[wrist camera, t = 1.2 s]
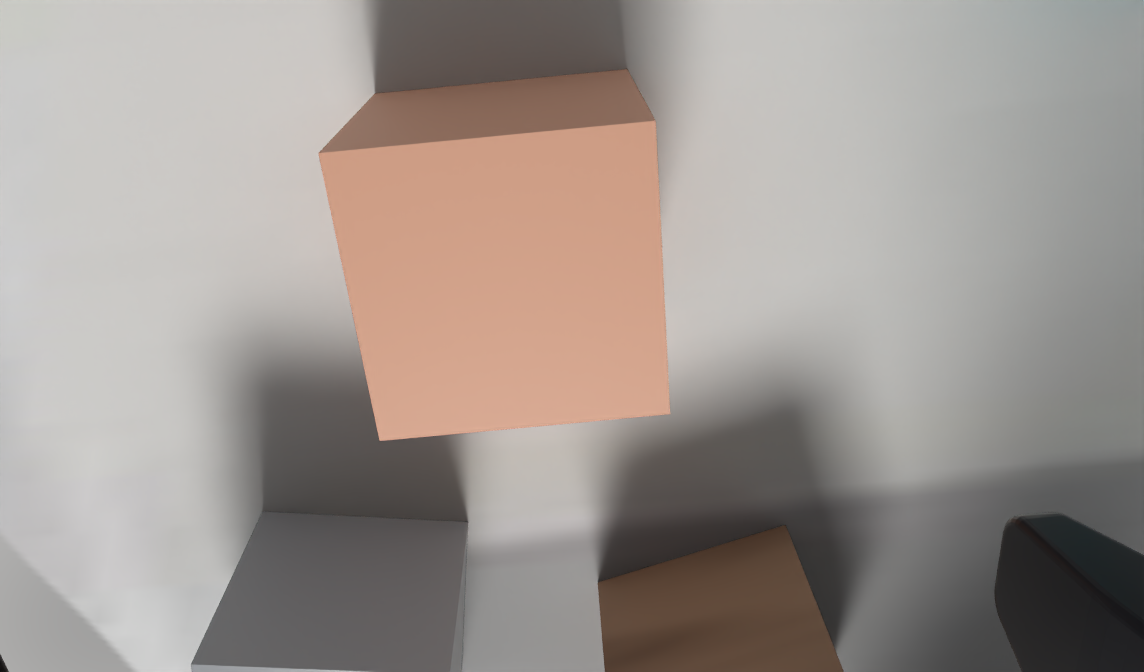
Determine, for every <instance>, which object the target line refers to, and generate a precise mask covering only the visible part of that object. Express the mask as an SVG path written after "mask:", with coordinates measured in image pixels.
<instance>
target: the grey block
mask: <svg viewBox="0 0 1144 672" xmlns="http://www.w3.org/2000/svg"><path fill="white" fill-rule="evenodd" d="M467 540H468V522H458V521H439V520H419V519H400V518H380V517H361V516H341V515H322V514H302V513H283V512H262V514H261V516H260V518H259V520H258V522H257V524H256V527H255V529H254V531H253V533H252V535H251V537H250V539H249V541H248V544H247V546H246V548H245V550H244V552H243V554H242V556H241V559H240V561H239V563H238V565H237V567H236V569H235V571H234V574H233V576H232V578H231V580H230V582H229V584H228V586H227V588H226V591H225V593H224V595H223V597H222V599H221V601H220V603H219V606H218V608H217V610H216V612H215V614H214V616H213V618H212V621H211V623H210V625H209V627H208V629H207V631H206V633H205V635H204V638H203V640H202V642H201V644H200V646H199V648H198V650H197V653H196V655H195V657H194V659H193V661H192V663H191V669H192V672H462V652H463V629H464V607H465V584H466V562H467Z"/></svg>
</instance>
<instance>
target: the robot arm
mask: <svg viewBox="0 0 1144 672" xmlns="http://www.w3.org/2000/svg"><path fill="white" fill-rule="evenodd" d="M995 603H996V608H997V612H998V615H999V618H1000V621H1001V623H1002V625H1003V628H1004V630H1005V632H1006V635H1007V637H1008V640H1009V642H1010V644H1011V647H1012V649H1013V651H1014V654H1015V656H1016V658H1017V661H1018V663H1019V666H1020V668H1021V670H1022V672H1144V555H1143V554H1141V553H1139V552H1137V551H1135V550H1133V549H1131V548H1129V547H1127V546H1125V545H1123V544H1121V543H1119V542H1117V541H1115V540H1113V539H1111V538H1109V537H1107V536H1105V535H1104V534H1102V533H1100V532H1098V531H1096V530H1094V529H1092V528H1090V527H1088V526H1086V525H1084V524H1082V523H1080V522H1078V521H1076V520H1074V519H1072V518H1070V517H1068V516H1066V515H1063V514H1061V513H1056V512H1048V513H1036V514H1025V515H1017V516H1014V517H1012V518H1010V519H1009V520H1008V522H1007V523H1006V525H1005V528H1004V531H1003V537H1002V544H1001V550H1000V557H999V563H998V570H997V576H996V583H995ZM0 672H9V671H8V669H7V667H6V665H5V663H4V661H3V659H2V657H1V655H0Z"/></svg>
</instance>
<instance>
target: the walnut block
mask: <svg viewBox="0 0 1144 672" xmlns="http://www.w3.org/2000/svg"><path fill="white" fill-rule="evenodd" d="M598 591H599V604H600V616H601V628H602V641H603V653H604V666H605V672H844V671H843V669H842V666H841V664H840V661H839V659H838V656H837V654H836V651H835V649H834V646H833V644H832V641H831V638H830V636H829V633H828V631H827V628H826V626H825V623H824V621H823V618H822V616H821V613H820V611H819V608H818V606H817V603H816V601H815V598H814V596H813V593H812V590H811V588H810V585H809V583H808V580H807V578H806V575H805V573H804V570H803V568H802V565H801V563H800V560H799V558H798V555H797V553H796V550H795V548H794V545H793V542H792V540H791V537H790V535H789V532H788V530H787V527H786V525H783V526H780V527H777V528H773V529H770V530H767V531H764V532H760V533H757V534H754V535H751V536H747V537H744V538H741V539H738V540H734V541H731V542H728V543H725V544H721V545H718V546H715V547H712V548H708V549H705V550H702V551H699V552H695V553H692V554H689V555H686V556H682V557H679V558H676V559H673V560H669V561H666V562H663V563H660V564H656V565H653V566H650V567H647V568H643V569H640V570H637V571H634V572H630V573H627V574H624V575H620V576H617V577H614V578H611V579H607V580H604V581H601V582H598Z"/></svg>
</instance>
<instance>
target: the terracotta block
mask: <svg viewBox="0 0 1144 672" xmlns="http://www.w3.org/2000/svg"><path fill="white" fill-rule="evenodd" d="M319 158H320V163H321V168H322V172H323V177H324V182H325V186H326V191H327V196H328V201H329V205H330V210H331V215H332V219H333V224H334V229H335V233H336V238H337V243H338V248H339V252H340V257H341V262H342V266H343V271H344V276H345V281H346V285H347V290H348V295H349V299H350V304H351V309H352V314H353V318H354V323H355V328H356V332H357V337H358V342H359V346H360V351H361V356H362V361H363V365H364V370H365V375H366V379H367V384H368V389H369V394H370V398H371V403H372V408H373V412H374V417H375V422H376V426H377V431H378V436H379V441H385V440H396V439H407V438H417V437H428V436H439V435H450V434H461V433H471V432H482V431H493V430H504V429H515V428H526V427H536V426H547V425H558V424H569V423H580V422H590V421H601V420H612V419H623V418H634V417H644V416H655V415H666V414H670V402H669V381H668V361H667V341H666V321H665V301H664V280H663V260H662V240H661V220H660V199H659V179H658V159H657V139H656V121H655V119H654V117H653V115H652V113H651V111H650V110H649V108H648V106H647V104H646V102H645V100H644V99H643V97H642V95H641V93H640V91H639V90H638V88H637V86H636V84H635V82H634V80H633V79H632V77H631V75H630V73H629V71H628V70H627V69H623V70H612V71H602V72H592V73H581V74H571V75H561V76H551V77H540V78H530V79H520V80H509V81H499V82H489V83H479V84H468V85H458V86H448V87H437V88H427V89H417V90H407V91H396V92H386V93H376V94H374V95H373V96H372V97H371V98H370V99H369V100H368V101H367V103H366V104H365V105H364V106H363V107H362V108H361V109H360V110H359V111H358V112H357V113H356V114H355V115H354V116H353V117H352V118H351V119H350V120H349V122H348V123H347V124H346V125H345V126H344V127H343V128H342V129H341V130H340V131H339V132H338V133H337V134H336V135H335V136H334V137H333V138H332V139H331V140H330V142H329V143H328V144H327V145H326V146H325V147H324V148H323V149H322V150H321V151H320V152H319Z"/></svg>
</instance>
